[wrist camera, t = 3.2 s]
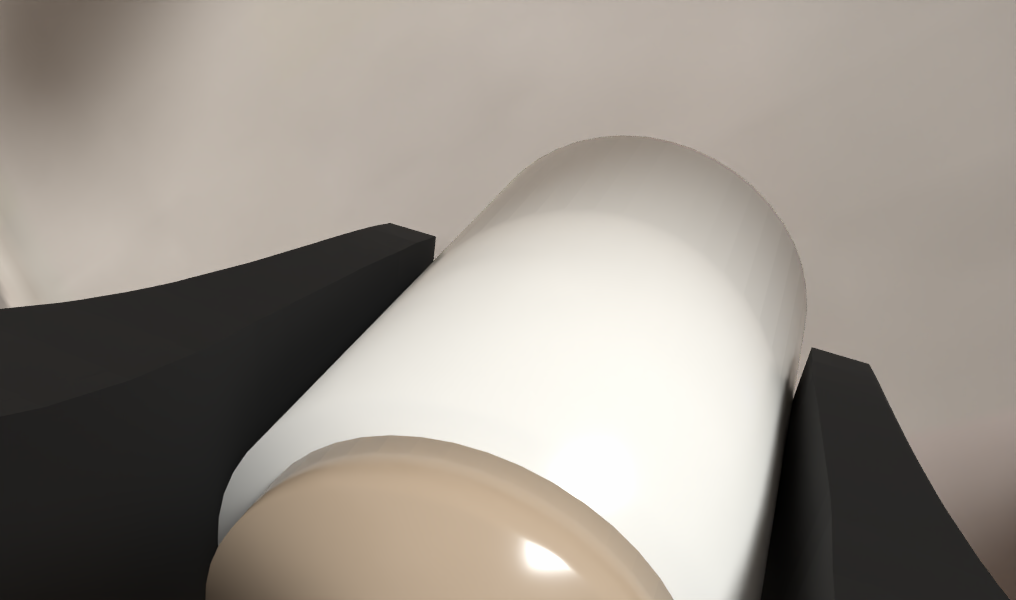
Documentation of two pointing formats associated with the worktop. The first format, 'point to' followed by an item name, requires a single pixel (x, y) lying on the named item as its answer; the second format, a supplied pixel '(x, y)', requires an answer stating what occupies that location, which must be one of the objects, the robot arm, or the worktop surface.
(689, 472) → the salt cellar
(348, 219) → the worktop surface
